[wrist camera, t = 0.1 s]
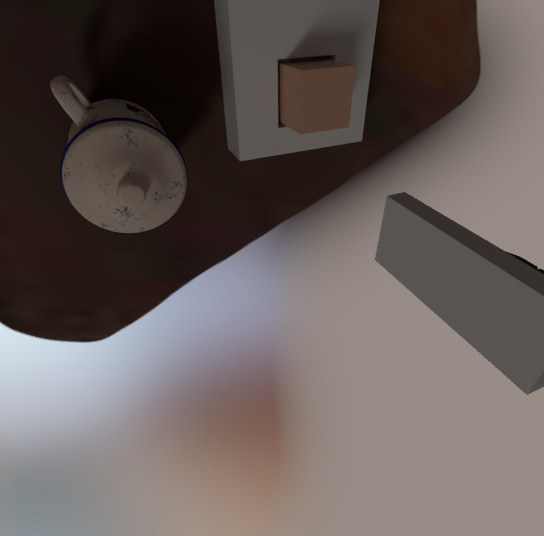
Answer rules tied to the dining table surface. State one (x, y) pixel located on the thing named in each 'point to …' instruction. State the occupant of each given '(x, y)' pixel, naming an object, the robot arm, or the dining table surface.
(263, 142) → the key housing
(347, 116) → the terracotta key
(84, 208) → the teacup with lid
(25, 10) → the dining table surface
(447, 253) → the robot arm
